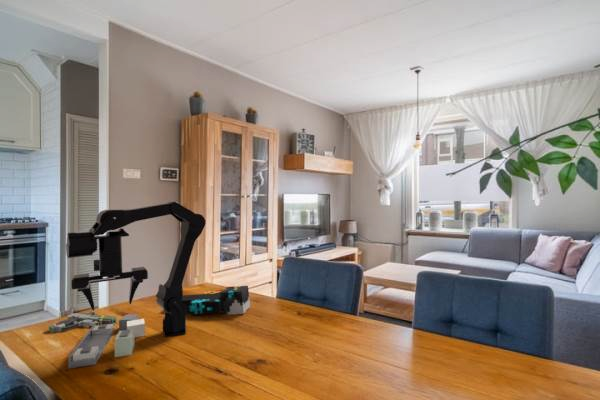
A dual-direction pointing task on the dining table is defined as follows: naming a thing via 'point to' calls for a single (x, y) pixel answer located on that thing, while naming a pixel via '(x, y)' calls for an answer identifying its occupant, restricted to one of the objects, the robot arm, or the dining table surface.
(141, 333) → the block
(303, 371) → the dining table surface
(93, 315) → the futuristic handgun
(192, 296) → the toy
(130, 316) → the white block
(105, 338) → the rail
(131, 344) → the module
